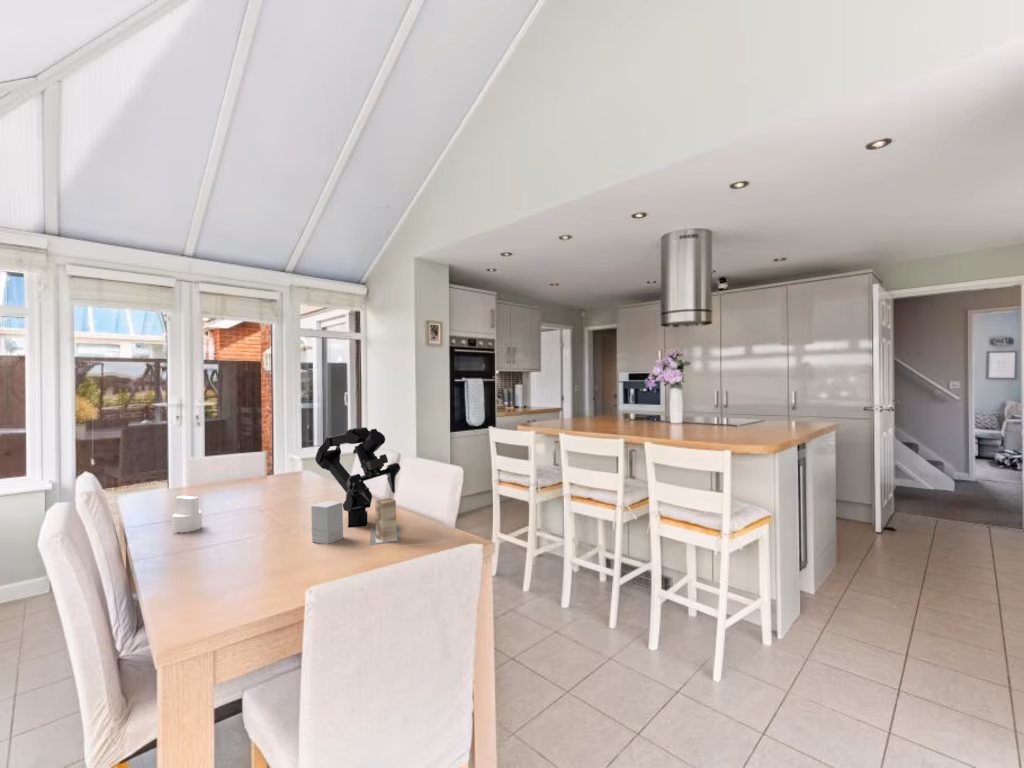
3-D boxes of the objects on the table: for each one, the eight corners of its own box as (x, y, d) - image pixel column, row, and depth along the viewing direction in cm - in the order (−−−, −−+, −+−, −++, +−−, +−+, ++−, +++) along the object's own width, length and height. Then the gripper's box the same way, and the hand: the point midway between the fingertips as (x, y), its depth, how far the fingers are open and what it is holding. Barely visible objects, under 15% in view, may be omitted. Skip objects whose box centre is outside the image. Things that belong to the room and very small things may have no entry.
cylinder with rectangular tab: (167, 531, 176) (166, 499, 176) (191, 524, 184) (190, 493, 184) (183, 534, 173) (182, 501, 173) (207, 527, 181) (206, 495, 181)
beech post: (375, 538, 164) (375, 500, 164) (389, 534, 167) (388, 497, 167) (382, 541, 160) (382, 502, 160) (396, 538, 163) (395, 500, 163)
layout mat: (369, 546, 157) (369, 544, 157) (370, 528, 177) (370, 526, 177) (400, 542, 160) (400, 541, 160) (398, 525, 179) (398, 524, 179)
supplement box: (343, 538, 165) (343, 502, 165) (327, 545, 159) (326, 507, 159) (328, 535, 169) (327, 500, 168) (311, 542, 162) (310, 505, 162)
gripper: (345, 455, 164) (360, 497, 159) (396, 442, 175) (412, 480, 170) (340, 468, 172) (354, 508, 167) (389, 455, 183) (404, 492, 178)
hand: (382, 496), depth 170 cm, fingers open, 9 cm apart
